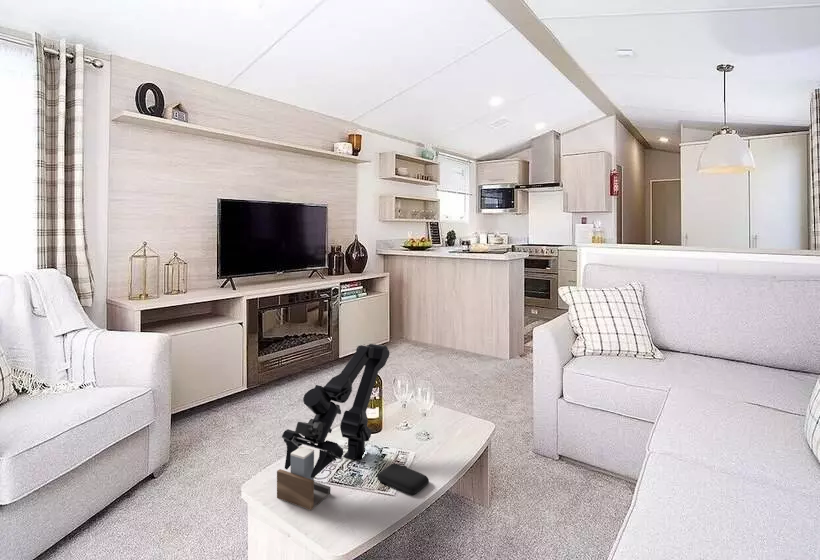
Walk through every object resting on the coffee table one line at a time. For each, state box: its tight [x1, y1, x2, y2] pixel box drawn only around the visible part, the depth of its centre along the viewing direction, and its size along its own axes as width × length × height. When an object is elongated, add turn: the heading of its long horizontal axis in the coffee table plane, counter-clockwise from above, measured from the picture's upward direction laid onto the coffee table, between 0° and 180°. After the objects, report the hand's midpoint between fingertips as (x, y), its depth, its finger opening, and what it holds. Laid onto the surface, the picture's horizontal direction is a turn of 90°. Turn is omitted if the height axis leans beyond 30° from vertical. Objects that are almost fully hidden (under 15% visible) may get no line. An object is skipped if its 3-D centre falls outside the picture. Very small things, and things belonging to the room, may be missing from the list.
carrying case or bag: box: [376, 462, 430, 496], centre depth 139 cm, size 11×3×15 cm
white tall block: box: [290, 446, 315, 481], centre depth 129 cm, size 5×5×13 cm
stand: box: [276, 468, 331, 511], centre depth 130 cm, size 9×12×8 cm
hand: (298, 473), depth 127 cm, fingers open, 9 cm apart
